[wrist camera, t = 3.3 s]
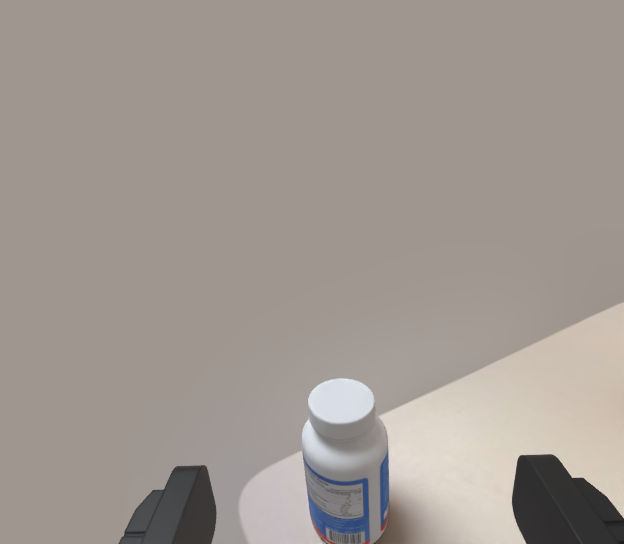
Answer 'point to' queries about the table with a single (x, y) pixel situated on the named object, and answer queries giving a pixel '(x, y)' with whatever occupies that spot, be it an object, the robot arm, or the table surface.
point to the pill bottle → (346, 463)
